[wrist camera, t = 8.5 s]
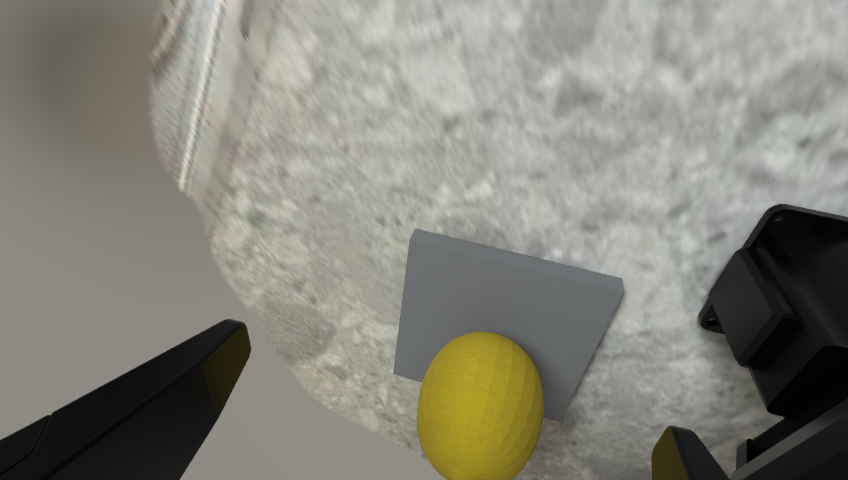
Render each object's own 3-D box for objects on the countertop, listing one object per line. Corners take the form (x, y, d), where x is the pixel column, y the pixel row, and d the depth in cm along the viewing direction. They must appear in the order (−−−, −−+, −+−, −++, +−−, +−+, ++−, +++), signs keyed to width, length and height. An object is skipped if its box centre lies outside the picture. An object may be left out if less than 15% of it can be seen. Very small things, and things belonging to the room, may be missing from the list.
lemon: (496, 390, 26) (469, 539, 19) (422, 332, 25) (368, 467, 18) (571, 348, 22) (570, 510, 16) (490, 280, 22) (453, 422, 15)
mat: (621, 278, 21) (623, 292, 20) (559, 407, 27) (559, 421, 26) (415, 228, 22) (409, 239, 22) (397, 361, 28) (393, 374, 27)
